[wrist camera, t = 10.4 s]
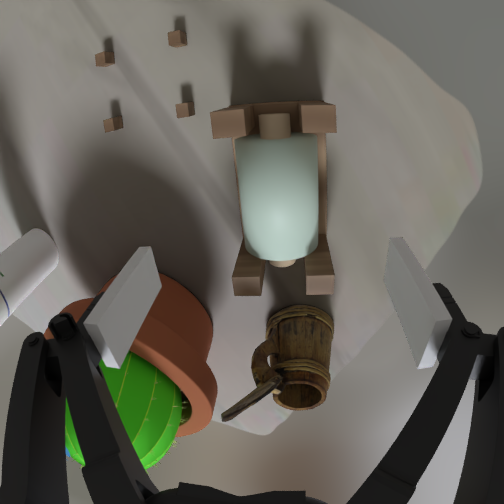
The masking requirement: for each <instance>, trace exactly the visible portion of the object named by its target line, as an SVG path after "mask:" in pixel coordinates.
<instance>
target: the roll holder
mask: <svg viewBox="0 0 504 504" xmlns="http://www.w3.org/2000/svg"><path fill="white" fill-rule="evenodd" d="M273 113H289V114H290V128H291V132H302V133H310V134H314V135H316V136H317V149H318V246H317V248H316V249H315V250H314V251H313V252H312V253H310V254H309V255H306V256H304V257H301V258H304V265H305V280H306V295H321V294H333V291H334V276H335V275H334V270H333V265H332V261H331V256H330V251H329V247H328V243H327V238H326V231H327V172H326V135H325V133H337V130H336V106H335V105H333V104H329V103H325V102H324V101H285V102H267V103H253V104H242V105H231V106H229V107H228V108H224V109H220V110H217V111H213V112H210V116H211V125H212V133H213V139H218V138H229V137H232V143H233V152H234V162H235V171H236V180H237V189H238V198H239V207H240V216H241V225H242V234H243V240H242V244H241V247H240V251H239V254H238V258H237V261H236V264H235V268H234V271H233V275H232V282H233V289H234V296H261V293H262V286H263V279H264V271H265V264H266V260H265V259H261V258H258V257H255V256H253V255H252V254H250V253H249V252H248V251H247V250H246V248H245V240H244V231H243V221H242V212H241V202H240V192H239V182H238V173H237V163H236V153H235V143H234V140H235V139H237V138H240V137H243V136H247V135H253V134H260V128H259V116H258V115H262V114H273Z"/></svg>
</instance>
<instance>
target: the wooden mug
mask: <svg viewBox="0 0 504 504" xmlns="http://www.w3.org/2000/svg"><path fill="white" fill-rule="evenodd" d="M333 334H334V323H333V320H332V318H331V317H330V316H329V315H328V314H327V313H326V312H324V311H323V310H321V309H319V308H316V307H312V306H308V305H293V306H290V307H287V308H284V309H282V310H281V311H279V312H278V313H276V314H275V315H273V316H272V317H271V318H270V319H269V321H268V323H267V328H266V337H265V338H266V341H264V342H263V343H261V344H260V345H259V346H258V347H257V348H256V349H255V351H254V354H253V356H252V365H251V369H252V374H253V378H254V381H255V383H256V386H257V388H256V389H255V390H253V391H252V392H251V393H250V394H248V395H247V396H246V397H244V398H243V399H242V400H240V401H239V402H238V403H236V404H235V405H233V406H232V407H231V408H229V409H228V410H227V411H225V412H223V413H222V414H221V416H222V422H226V421H229V420H232V419H233V418H234V417H236V416H237V415H238V414H240V413H241V412H243V411H244V410H246V409H247V408H249V407H250V406H252V405H254V404H255V403H257V402H258V401H260V400H261V399H262V398H264V397H265V396H266V395H268V394H269V393H270V392H271V393H273V399H274V401H275V402H276V403H277V404H278V405H280V406H282V407H284V408H286V409H290V410H308V409H313V408H315V407H317V406H319V405H320V404H322V403H323V402H324V401H325V399H326V394H327V390H328V389H329V386H330V379H331V378H330V373H329V365H330V354H331V342H332V340H333ZM269 355H270V366H271V367H270V366H269V365H268V362H267V357H268V356H269Z"/></svg>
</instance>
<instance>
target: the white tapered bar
mask: <svg viewBox="0 0 504 504" xmlns="http://www.w3.org/2000/svg"><path fill="white" fill-rule="evenodd" d="M58 262H59V253H58V250H57V247H56V245H55V243H54V241H53V240H52V238H51V237H50V236H49V235H48V234H47V233H46V232H44V231H43V230H41V229H37V228H34V229H31V230H30V231H29V232H27V233H26V234H25V235H23V236H22V237H21V238H19V239H18V240H17V241H16V242H14V243H13V244H12V245H11V246H9V247H8V248H7V249H6V250H4V251H3V252H2V253H1V254H0V326H1V325H2V324H3V322H4V321H5V320H6V319H7V318H8V317H9V316H10V315H11V313H12V312H13V311H14V310H15V309H16V308H17V307H18V306H19V305H20V304H21V302H22V301H23V300H24V299H25V298H26V297H27V296H28V295H29V294H30V293H31V292H32V291H33V290H34V289H35V288H36V287H37V286H38V285H39V283H40V282H41V281H42V280H43V279H44V278H45V277H46V276H47V275H48V274H49V273H50V272H51V271H52V270H53V269H54V268H55V267H56V266H57V265H58Z"/></svg>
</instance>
